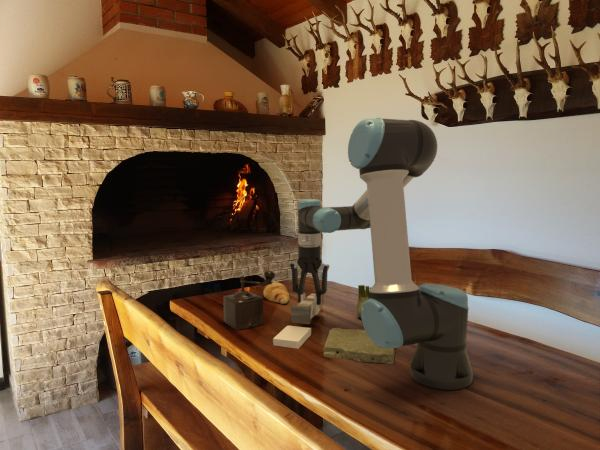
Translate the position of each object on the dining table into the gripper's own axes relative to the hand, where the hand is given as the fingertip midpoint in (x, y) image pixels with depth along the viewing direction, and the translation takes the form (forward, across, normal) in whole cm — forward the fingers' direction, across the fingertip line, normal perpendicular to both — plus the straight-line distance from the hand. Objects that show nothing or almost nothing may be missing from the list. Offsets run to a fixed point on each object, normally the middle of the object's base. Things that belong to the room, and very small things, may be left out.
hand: (309, 312), depth 155 cm
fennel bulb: (+4, +17, +10) cm, 20 cm away
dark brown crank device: (+4, -20, -6) cm, 21 cm away
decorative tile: (+4, +21, -17) cm, 27 cm away
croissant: (+4, -22, +24) cm, 33 cm away
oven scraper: (0, 0, 0) cm, 0 cm away
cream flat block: (+3, 0, -10) cm, 11 cm away
